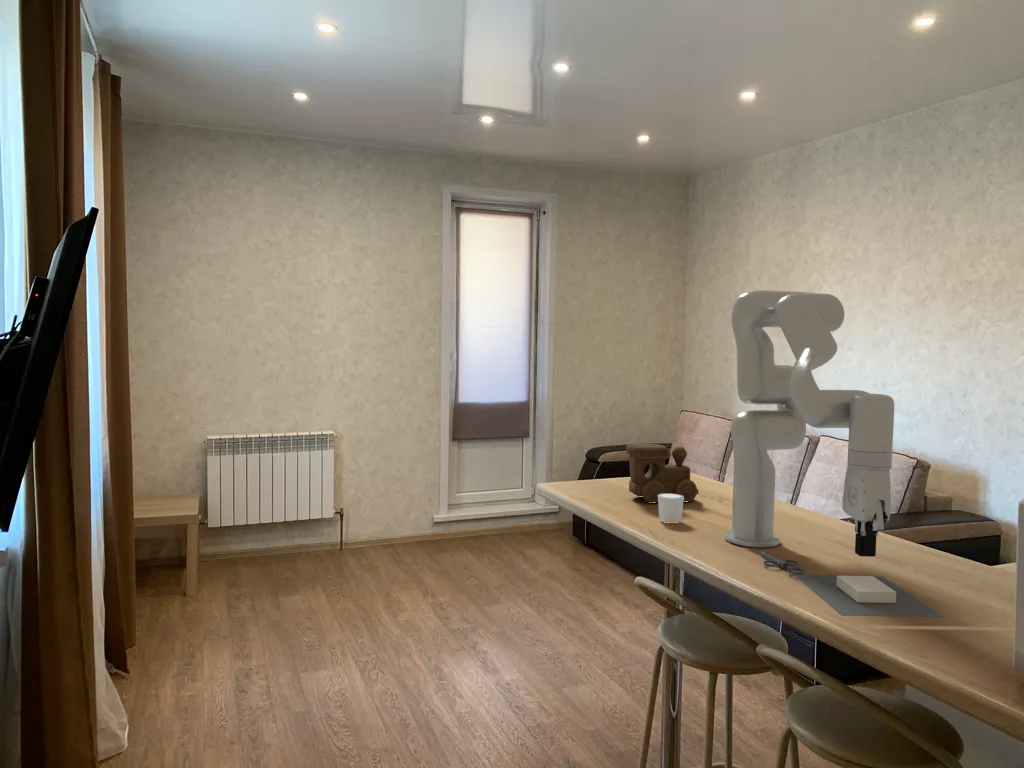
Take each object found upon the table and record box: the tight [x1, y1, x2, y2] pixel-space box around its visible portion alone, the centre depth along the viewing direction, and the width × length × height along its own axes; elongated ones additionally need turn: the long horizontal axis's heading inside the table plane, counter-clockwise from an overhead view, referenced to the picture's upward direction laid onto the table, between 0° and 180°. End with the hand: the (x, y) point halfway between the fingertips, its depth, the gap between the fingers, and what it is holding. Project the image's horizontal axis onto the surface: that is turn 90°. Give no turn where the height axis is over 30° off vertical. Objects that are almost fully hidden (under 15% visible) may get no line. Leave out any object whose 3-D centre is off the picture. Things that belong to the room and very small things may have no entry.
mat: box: [794, 574, 944, 618], centre depth 142 cm, size 22×18×1 cm
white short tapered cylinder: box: [657, 493, 684, 522], centre depth 198 cm, size 7×7×7 cm
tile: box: [836, 575, 896, 604], centre depth 141 cm, size 2×7×9 cm
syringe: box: [757, 550, 805, 575], centre depth 160 cm, size 8×18×2 cm, turn 9°
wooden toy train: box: [625, 443, 699, 503], centre depth 223 cm, size 20×11×17 cm, turn 102°
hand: (865, 554), depth 141 cm, fingers closed
